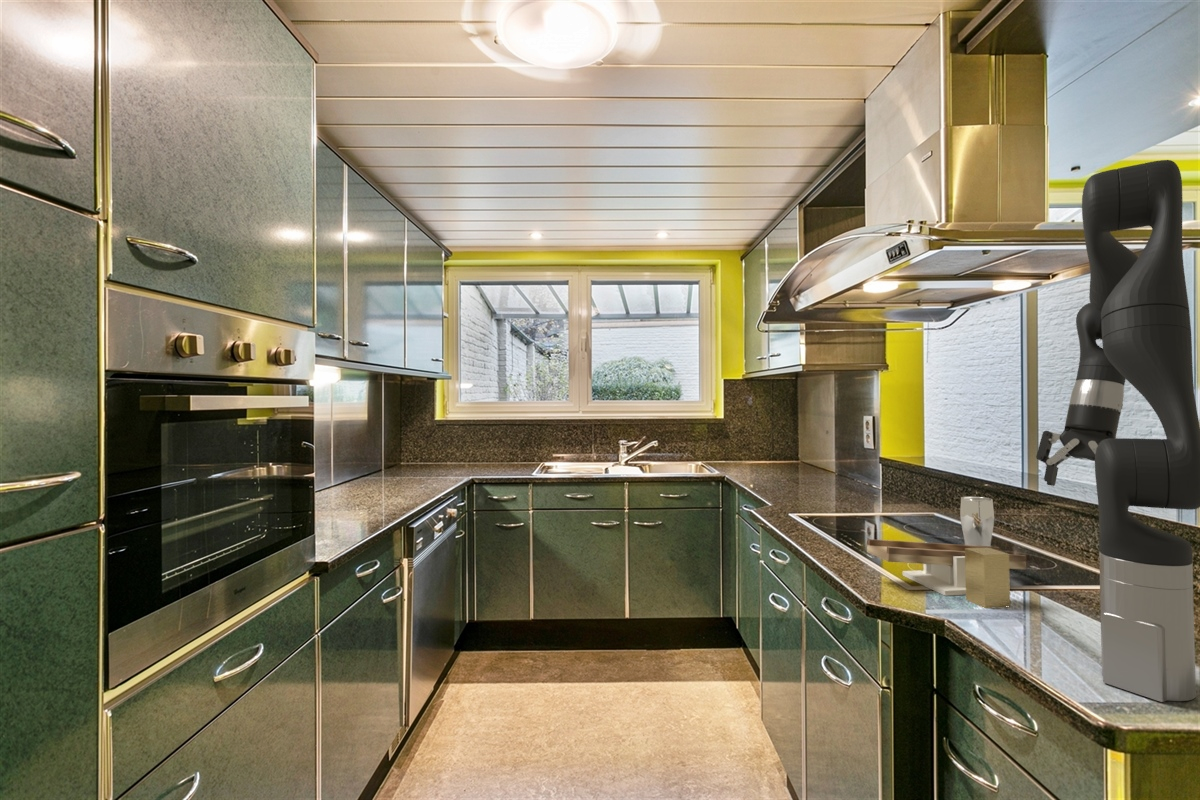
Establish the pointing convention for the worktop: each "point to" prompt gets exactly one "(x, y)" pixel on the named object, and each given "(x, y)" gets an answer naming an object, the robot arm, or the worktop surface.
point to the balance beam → (929, 552)
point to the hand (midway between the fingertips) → (1077, 490)
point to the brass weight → (987, 577)
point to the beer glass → (977, 520)
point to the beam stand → (942, 577)
